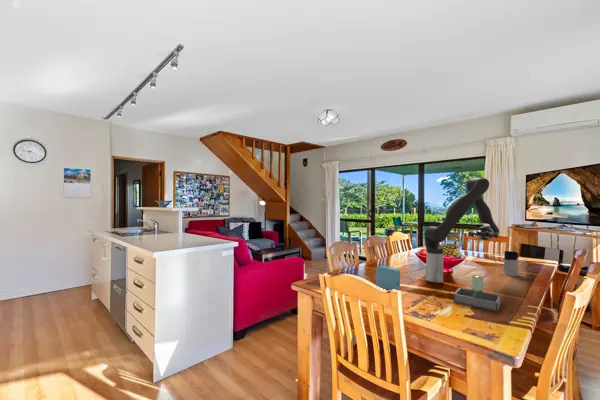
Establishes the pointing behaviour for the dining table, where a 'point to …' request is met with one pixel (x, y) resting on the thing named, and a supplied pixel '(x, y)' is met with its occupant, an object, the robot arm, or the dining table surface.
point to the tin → (477, 286)
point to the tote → (487, 301)
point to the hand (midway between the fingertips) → (481, 235)
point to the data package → (388, 277)
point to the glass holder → (510, 263)
